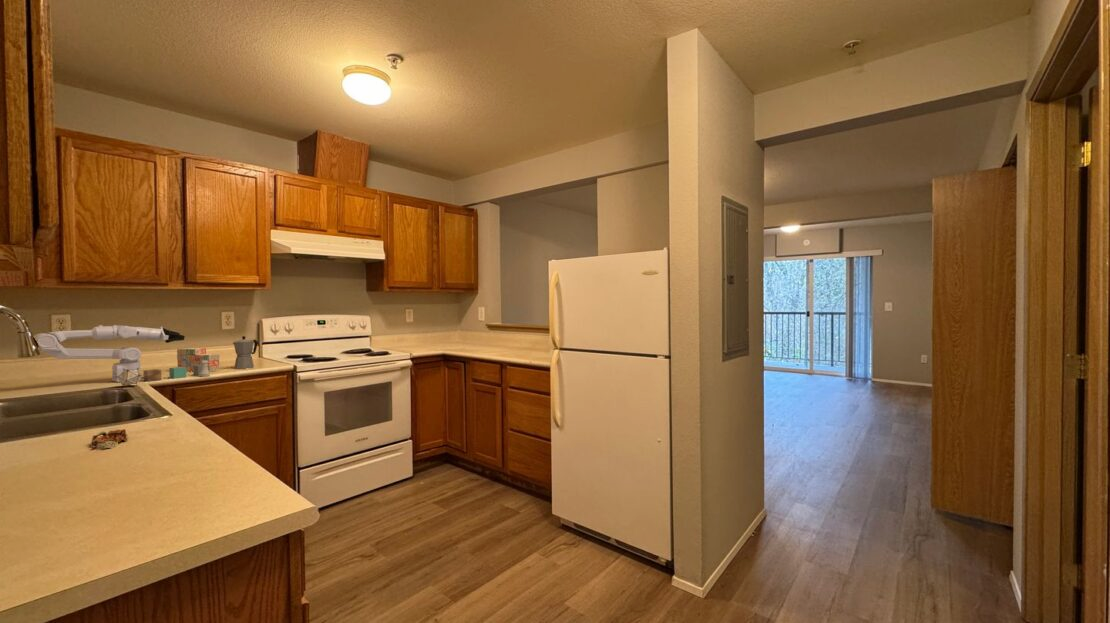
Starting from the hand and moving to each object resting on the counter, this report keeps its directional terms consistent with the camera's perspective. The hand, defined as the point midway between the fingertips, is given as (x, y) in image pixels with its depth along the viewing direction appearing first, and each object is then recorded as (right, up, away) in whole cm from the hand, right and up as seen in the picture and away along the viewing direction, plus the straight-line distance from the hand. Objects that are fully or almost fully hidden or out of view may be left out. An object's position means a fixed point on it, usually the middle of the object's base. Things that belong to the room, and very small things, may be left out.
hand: (181, 336), depth 237 cm
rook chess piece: (+16, -20, -5) cm, 26 cm away
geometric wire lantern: (+4, -20, -33) cm, 39 cm away
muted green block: (+5, -20, -8) cm, 22 cm away
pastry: (+77, -21, -119) cm, 143 cm away
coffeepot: (+15, -19, +26) cm, 36 cm away
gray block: (+10, -20, 0) cm, 22 cm away
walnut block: (0, -20, -17) cm, 26 cm away
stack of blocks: (-3, -20, +15) cm, 25 cm away
